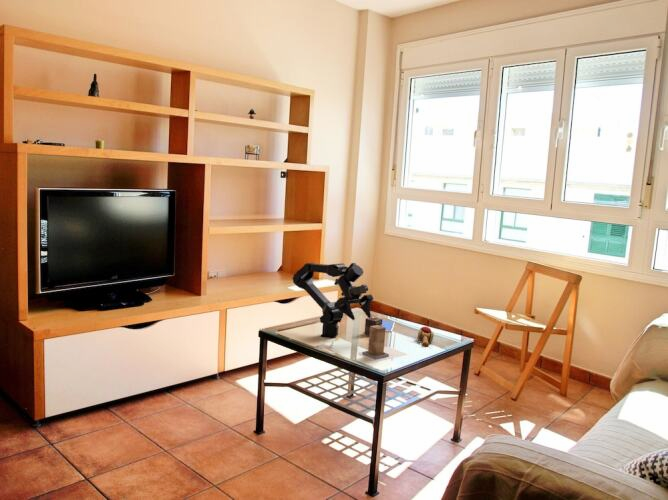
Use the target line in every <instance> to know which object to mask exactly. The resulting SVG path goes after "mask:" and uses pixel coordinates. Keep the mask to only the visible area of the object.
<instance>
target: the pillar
mask: <svg viewBox="0 0 668 500" xmlns="http://www.w3.org/2000/svg"><path fill="white" fill-rule="evenodd" d="M385 330H386V328H385V327H382V326H379V325H375V326H370V334H369V337H368V346H367V347H368V348H367V349H368V350H367V351H368V354H371V355H373V356H380V355H383V353H384V347H385V338H386V332H385Z"/></svg>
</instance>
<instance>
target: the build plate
mask: <svg viewBox="0 0 668 500" xmlns="http://www.w3.org/2000/svg"><path fill="white" fill-rule="evenodd" d="M355 354H357V355H359V356H361V357H364V358H367V359H369V360H370V361H373V362H375V363H379V362H382V361H386V360H390V359H394V358H399V357H402V356H408V353H407V352H404V351H401V350H398V349H396V348H392V347H390V346H384V353H383V355H380V356H373V355H371V354H368V350H365V351H361V352H357V353H355Z"/></svg>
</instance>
